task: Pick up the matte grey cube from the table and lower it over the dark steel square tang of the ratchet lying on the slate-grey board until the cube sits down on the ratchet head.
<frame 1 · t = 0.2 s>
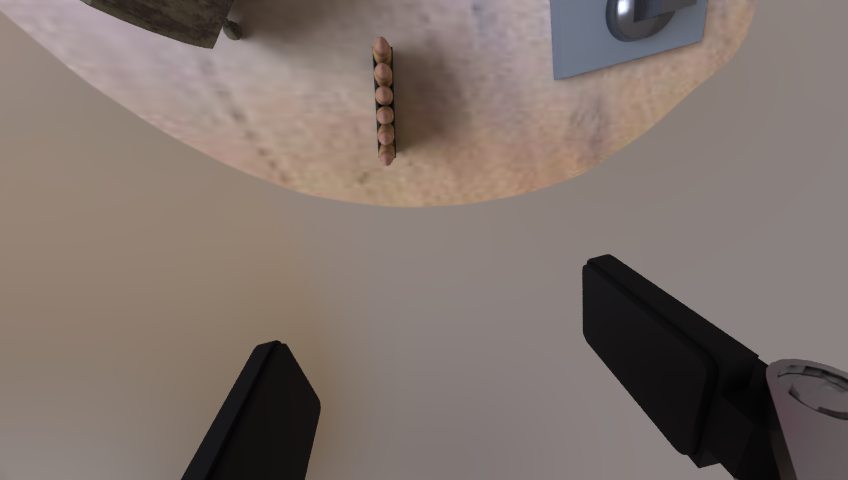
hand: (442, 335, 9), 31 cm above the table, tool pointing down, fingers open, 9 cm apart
ammunition clip: (385, 105, 35), on the table
ratchet: (635, 5, 31), resting on slate board
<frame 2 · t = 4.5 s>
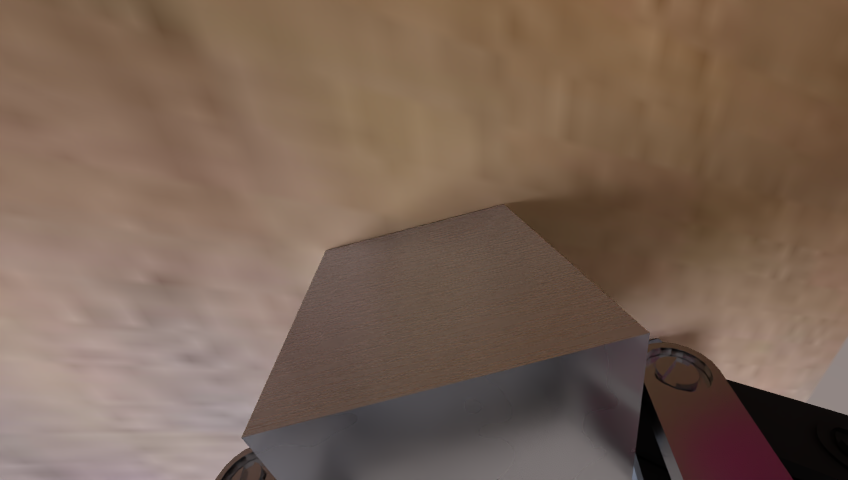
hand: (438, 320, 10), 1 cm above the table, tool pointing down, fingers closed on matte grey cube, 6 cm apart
matte grey cube: (434, 300, 11), on the table, touching gripper
when the fingers open (5 cm above the table, at t = 10.6 s): matte grey cube stays where it is, resting on ratchet.
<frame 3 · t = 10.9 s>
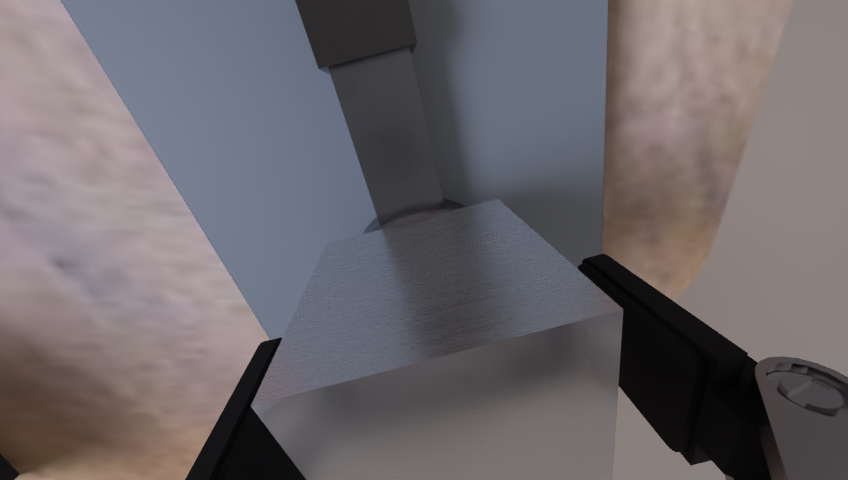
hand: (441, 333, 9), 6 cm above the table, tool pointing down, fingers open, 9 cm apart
matte grey cube: (431, 292, 11), point 4 cm above the table, touching ratchet
ratchet: (427, 267, 13), resting on slate board
slate board: (395, 147, 13), on the table
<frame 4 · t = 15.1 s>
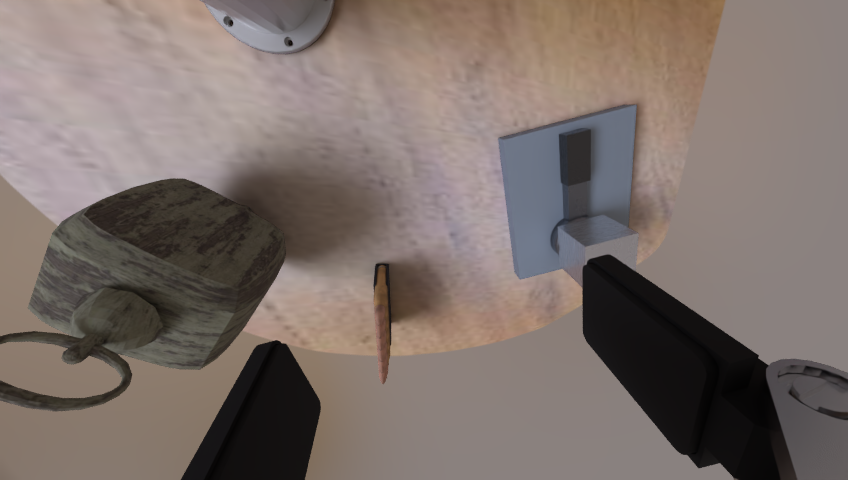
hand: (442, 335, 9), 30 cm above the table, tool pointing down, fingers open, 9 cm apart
tabletop clock: (241, 221, 38), on the table
matte grey cube: (580, 241, 39), point 4 cm above the table, touching ratchet
ammunition clip: (383, 294, 45), on the table
ratchet: (572, 235, 41), resting on slate board
slate board: (563, 197, 41), on the table
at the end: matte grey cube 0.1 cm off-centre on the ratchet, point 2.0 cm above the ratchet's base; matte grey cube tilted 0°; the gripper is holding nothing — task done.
